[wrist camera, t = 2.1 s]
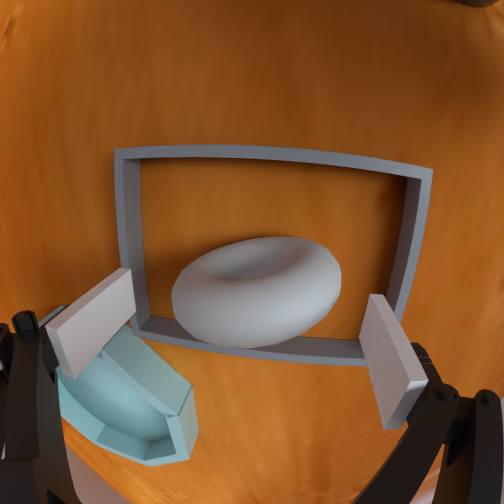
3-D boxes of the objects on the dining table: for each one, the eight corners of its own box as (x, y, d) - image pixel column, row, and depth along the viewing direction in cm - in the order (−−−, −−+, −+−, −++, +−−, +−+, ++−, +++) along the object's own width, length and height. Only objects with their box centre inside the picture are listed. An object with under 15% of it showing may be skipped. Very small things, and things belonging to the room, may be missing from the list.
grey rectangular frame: (418, 166, 17) (433, 169, 15) (378, 348, 23) (384, 366, 20) (132, 148, 20) (114, 148, 18) (144, 320, 25) (132, 335, 23)
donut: (206, 282, 23) (154, 362, 14) (196, 241, 22) (130, 305, 12) (333, 267, 21) (356, 352, 12) (328, 222, 20) (355, 283, 10)
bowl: (187, 335, 25) (168, 366, 21) (203, 455, 33) (195, 479, 29) (28, 294, 28) (5, 309, 24) (76, 411, 36) (63, 428, 31)
